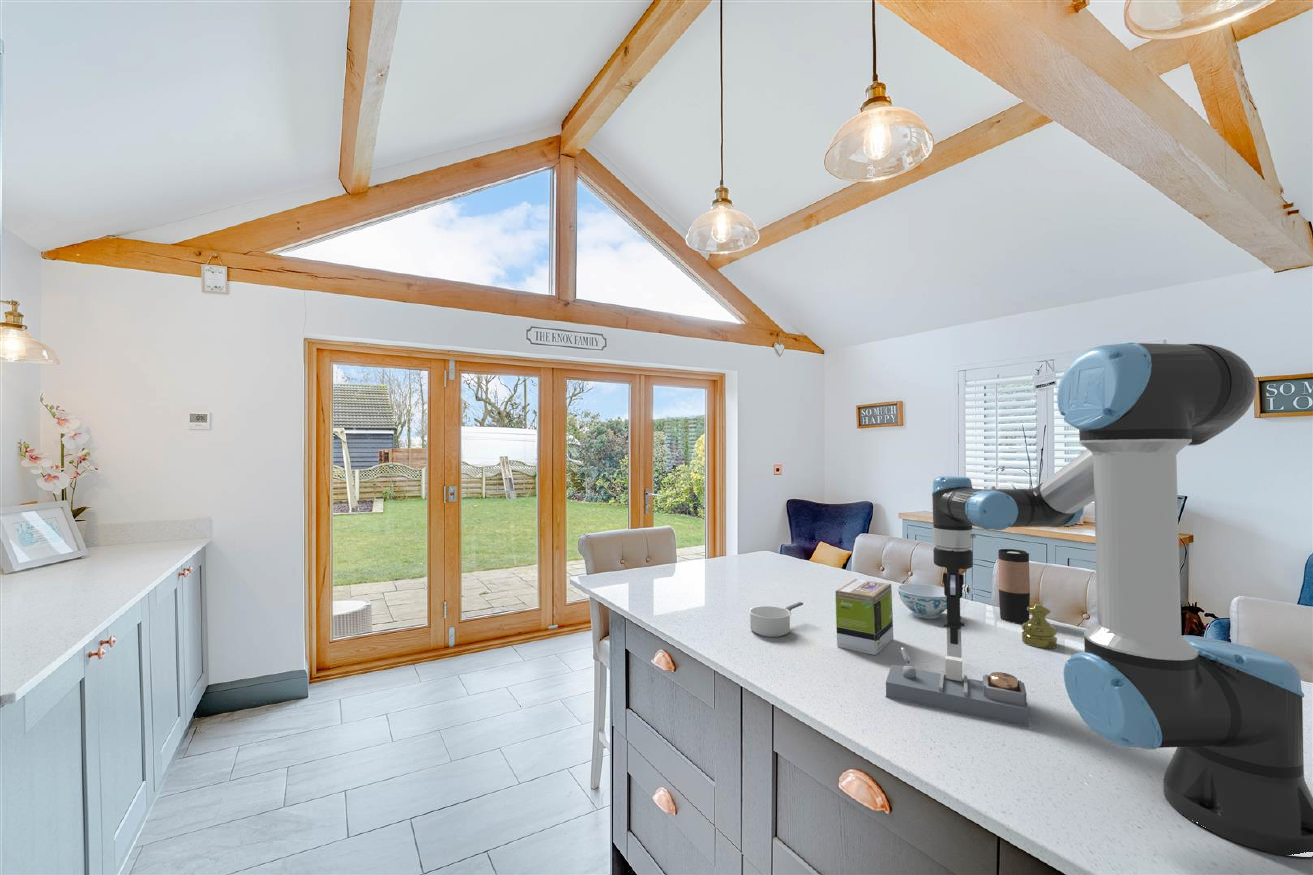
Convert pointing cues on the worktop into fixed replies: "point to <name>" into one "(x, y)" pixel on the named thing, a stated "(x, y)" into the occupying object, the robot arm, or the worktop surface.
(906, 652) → the toggle lever
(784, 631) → the saucepan
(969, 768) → the worktop surface
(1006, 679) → the push button
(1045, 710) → the worktop surface
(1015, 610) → the travel mug
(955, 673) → the white slider block
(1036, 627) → the gold chess piece
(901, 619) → the worktop surface
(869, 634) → the tea box
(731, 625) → the worktop surface
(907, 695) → the control panel
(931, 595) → the chinaware
